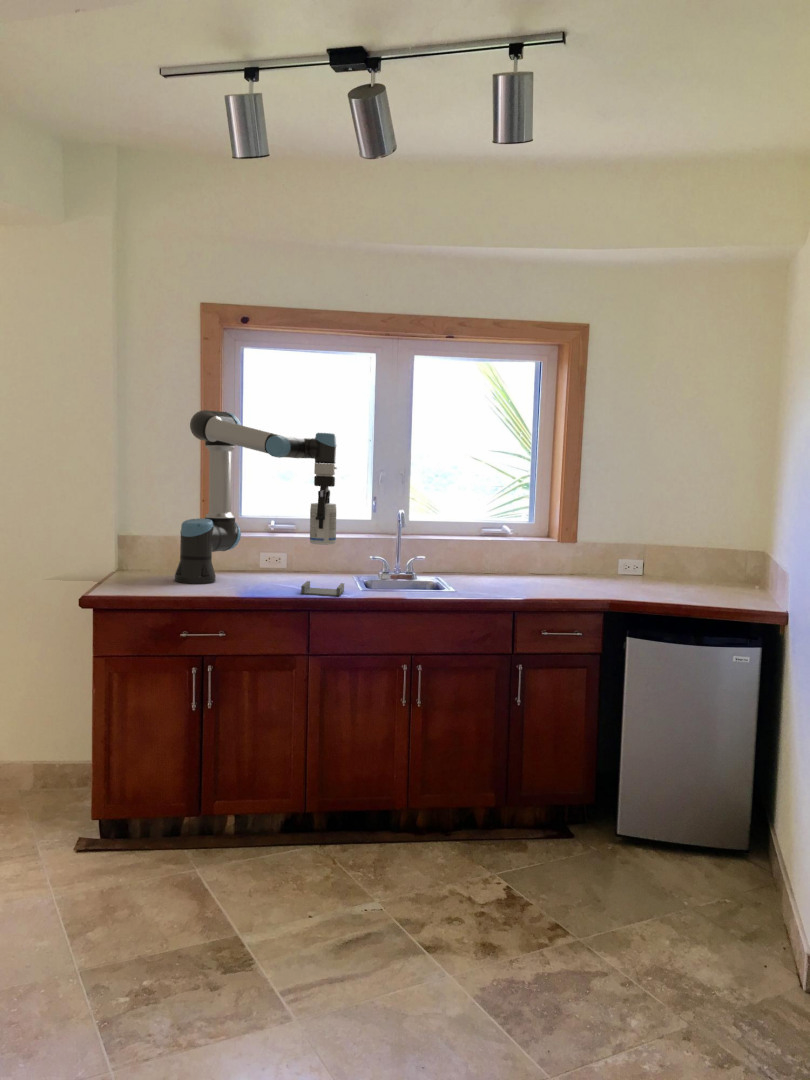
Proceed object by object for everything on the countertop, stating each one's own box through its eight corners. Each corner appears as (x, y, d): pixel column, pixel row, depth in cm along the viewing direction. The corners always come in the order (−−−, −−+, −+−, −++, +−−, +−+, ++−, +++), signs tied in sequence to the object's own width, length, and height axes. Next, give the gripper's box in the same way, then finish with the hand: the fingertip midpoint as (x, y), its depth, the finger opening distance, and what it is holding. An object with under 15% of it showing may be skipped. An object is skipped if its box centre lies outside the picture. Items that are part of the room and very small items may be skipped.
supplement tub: (330, 542, 336) (331, 503, 335) (339, 544, 328) (341, 504, 327) (305, 542, 332) (306, 502, 331) (314, 545, 324) (316, 504, 322)
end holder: (301, 594, 324) (301, 585, 324) (306, 588, 337) (307, 581, 337) (339, 596, 324) (340, 588, 323) (343, 591, 337) (344, 583, 336)
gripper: (331, 476, 317) (329, 539, 318) (338, 475, 339) (336, 534, 341) (310, 475, 317) (307, 538, 319) (318, 474, 339) (316, 533, 341)
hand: (322, 536), depth 330 cm, fingers closed on supplement tub, 9 cm apart
